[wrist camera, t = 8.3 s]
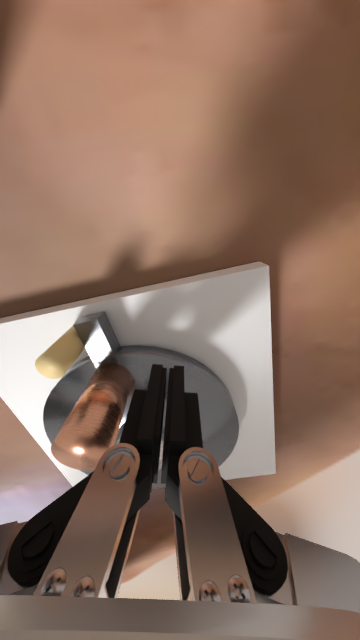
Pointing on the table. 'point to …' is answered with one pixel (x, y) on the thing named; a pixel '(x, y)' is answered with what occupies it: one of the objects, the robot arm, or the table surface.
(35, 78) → the table surface
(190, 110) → the table surface
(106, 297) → the base plate
